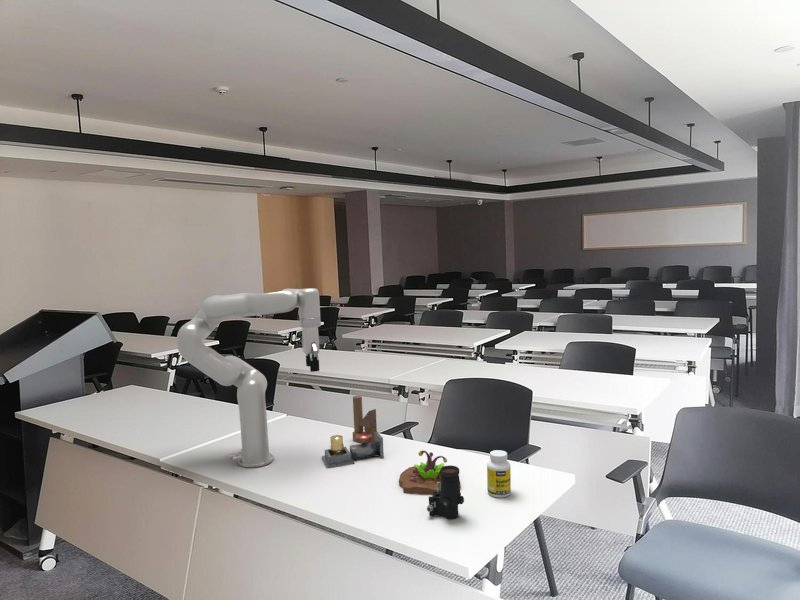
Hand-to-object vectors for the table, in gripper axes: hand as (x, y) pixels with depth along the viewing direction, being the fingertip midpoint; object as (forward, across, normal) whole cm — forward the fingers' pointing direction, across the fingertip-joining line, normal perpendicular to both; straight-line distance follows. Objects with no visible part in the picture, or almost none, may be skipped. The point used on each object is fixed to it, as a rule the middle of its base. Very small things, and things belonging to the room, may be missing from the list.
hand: (312, 368), depth 211 cm
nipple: (+32, +8, +6) cm, 34 cm away
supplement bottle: (+33, +54, +47) cm, 79 cm away
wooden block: (+34, -7, +20) cm, 40 cm away
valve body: (+33, +8, +12) cm, 36 cm away
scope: (+33, +61, +27) cm, 75 cm away
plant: (+34, +38, +30) cm, 59 cm away
